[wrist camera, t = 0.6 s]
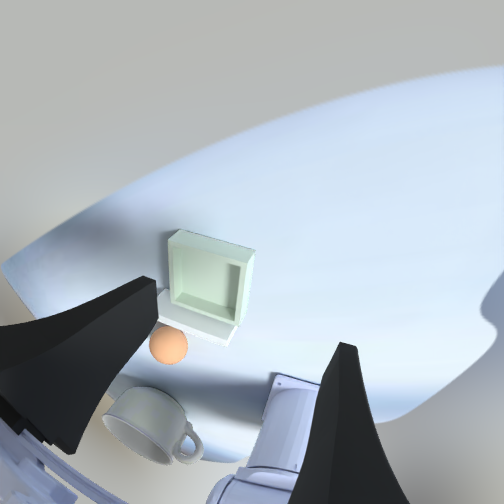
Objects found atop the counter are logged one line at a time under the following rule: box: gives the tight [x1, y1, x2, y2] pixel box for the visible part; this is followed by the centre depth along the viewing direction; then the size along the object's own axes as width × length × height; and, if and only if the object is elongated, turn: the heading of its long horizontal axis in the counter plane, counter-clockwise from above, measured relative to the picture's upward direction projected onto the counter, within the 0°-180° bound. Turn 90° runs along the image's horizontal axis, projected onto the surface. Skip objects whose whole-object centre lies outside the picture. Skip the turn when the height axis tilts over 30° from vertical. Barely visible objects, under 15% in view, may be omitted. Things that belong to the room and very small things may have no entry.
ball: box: [149, 326, 188, 365], centre depth 27 cm, size 4×4×4 cm
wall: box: [157, 288, 238, 347], centre depth 24 cm, size 1×7×3 cm, turn 84°
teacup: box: [102, 387, 204, 465], centre depth 35 cm, size 14×11×8 cm
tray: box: [168, 229, 256, 327], centre depth 23 cm, size 6×6×2 cm
